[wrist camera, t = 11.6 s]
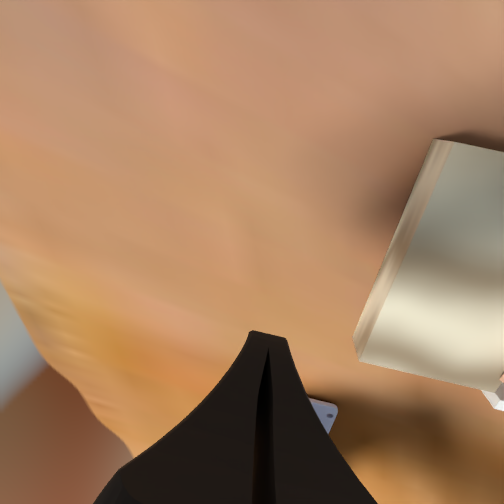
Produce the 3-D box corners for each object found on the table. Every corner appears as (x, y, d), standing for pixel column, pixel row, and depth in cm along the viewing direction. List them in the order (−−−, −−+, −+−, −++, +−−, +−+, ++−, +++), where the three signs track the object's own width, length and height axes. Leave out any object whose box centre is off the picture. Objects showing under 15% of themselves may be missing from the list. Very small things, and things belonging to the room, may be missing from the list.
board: (474, 365, 23) (494, 393, 21) (352, 337, 23) (359, 361, 21) (596, 173, 17) (642, 182, 15) (433, 138, 18) (454, 141, 15)
